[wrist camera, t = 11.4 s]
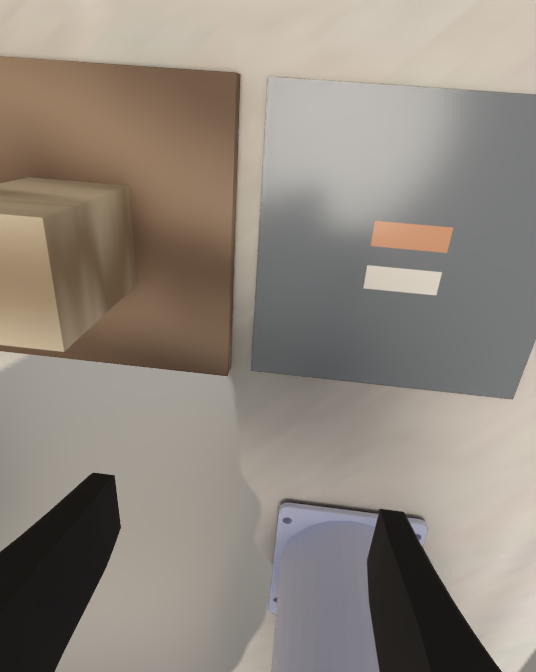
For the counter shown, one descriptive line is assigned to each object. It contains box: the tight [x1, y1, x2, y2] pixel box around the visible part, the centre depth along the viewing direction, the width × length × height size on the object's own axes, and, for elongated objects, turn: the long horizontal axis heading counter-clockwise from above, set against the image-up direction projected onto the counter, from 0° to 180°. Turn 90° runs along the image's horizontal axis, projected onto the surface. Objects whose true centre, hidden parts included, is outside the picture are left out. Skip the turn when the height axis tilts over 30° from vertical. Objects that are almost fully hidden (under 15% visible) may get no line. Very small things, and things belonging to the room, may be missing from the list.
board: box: [0, 56, 240, 376], centre depth 18 cm, size 12×12×1 cm
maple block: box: [0, 177, 137, 352], centre depth 15 cm, size 4×4×6 cm
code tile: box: [251, 76, 536, 399], centre depth 18 cm, size 12×12×1 cm
